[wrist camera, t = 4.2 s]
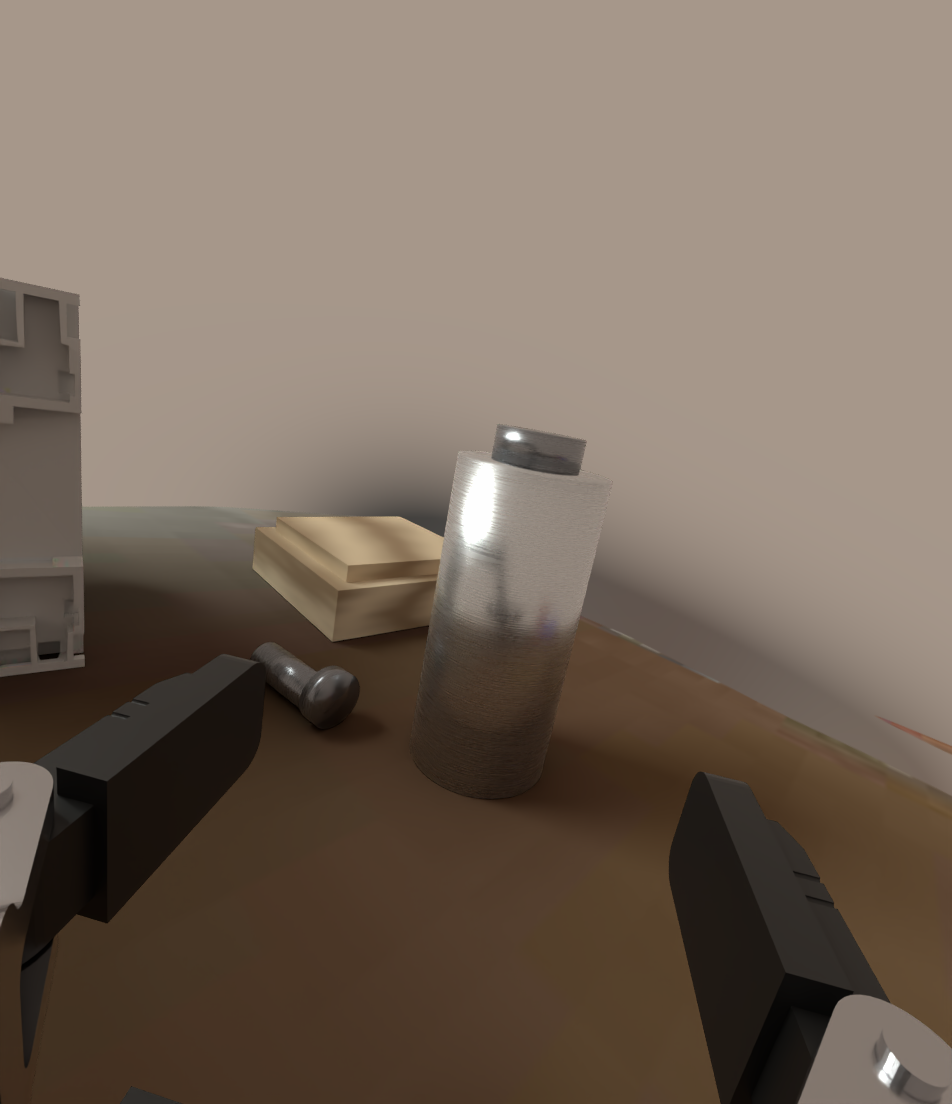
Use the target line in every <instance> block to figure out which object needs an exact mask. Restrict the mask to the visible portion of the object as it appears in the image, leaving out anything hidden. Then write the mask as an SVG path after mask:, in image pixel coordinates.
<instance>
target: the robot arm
mask: <svg viewBox="0 0 952 1104" xmlns="http://www.w3.org/2000/svg"><path fill="white" fill-rule="evenodd" d="M265 681H266V670H265V666H264V665H263V664H262V663H260V662H256V661H252V660H248V659H244V658H239V657H235V656H231V655H227V654H222V655H219V656H217V657H216V658H214V659H213V660H212V661H210V662H209V663H207V664H206V665H204V666H203V667H201V668H200V669H198V670H197V671H196V672H194V673H193V674H190V673H185V674H182V675H179V676H176V677H173V678H170V679H167V680H164V681H161V682H159V683H156V684H155V685H153V686H151V687H150V688H148V689H147V690H145V691H144V692H142V693H141V694H139V695H138V696H136V697H135V698H133V700H132V702H127V703H125V704H124V705H122V706H121V707H119V708H118V709H116V710H115V711H113V713H112V715H111V716H110V715H107V716H105V717H104V718H102V719H101V720H99V721H98V722H96V723H95V724H93V725H91V726H90V727H88V728H87V729H85V730H84V731H82V732H81V733H79V734H78V735H76V736H75V737H73V738H72V739H70V740H68V741H67V742H65V743H64V744H62V745H61V746H59V747H58V748H56V749H55V750H53V751H52V752H50V753H48V754H47V755H45V756H44V757H42V758H41V759H39V760H38V761H36V762H35V763H33V764H32V763H28V762H0V1104H31V1096H32V1089H33V1083H34V1077H35V1072H36V1066H37V1061H38V1055H39V1050H40V1044H41V1039H42V1033H43V1028H44V1022H45V1017H46V1012H47V1006H48V1001H49V995H50V990H51V984H52V979H53V973H54V968H55V962H56V957H57V951H58V932H59V931H60V930H61V929H62V928H63V927H64V926H65V925H66V924H67V923H68V922H69V921H70V920H71V919H72V918H73V917H74V916H75V915H76V914H78V915H81V916H84V917H88V918H91V919H94V920H97V921H101V922H104V923H108V922H109V921H110V920H111V919H112V918H113V917H114V916H115V915H116V913H117V912H118V911H119V910H120V909H121V908H122V907H123V906H124V905H125V903H126V902H127V901H128V900H129V899H130V898H131V897H132V896H133V895H134V893H135V892H136V891H137V890H138V889H139V888H140V887H141V886H142V885H143V884H144V882H145V881H146V880H147V879H148V878H149V877H150V876H151V875H152V874H153V872H154V871H155V870H156V869H157V868H158V867H159V866H160V865H161V864H162V862H163V861H164V860H165V859H166V858H167V857H168V856H169V855H170V854H171V852H172V851H173V850H174V849H175V848H176V847H177V846H178V845H179V844H180V843H181V841H182V840H183V839H184V838H185V837H186V836H187V835H188V834H189V833H190V831H191V830H192V829H193V828H194V827H195V826H196V825H197V824H198V823H199V821H200V820H201V819H202V818H203V817H204V816H205V815H206V814H207V813H208V811H209V810H210V809H211V808H212V807H213V806H214V805H215V804H216V803H217V802H218V800H219V799H220V798H221V797H222V796H223V795H224V794H225V793H226V792H227V790H228V789H229V788H230V787H231V786H232V785H233V784H234V783H235V782H236V780H237V779H238V778H239V777H240V776H241V775H242V774H243V773H244V772H245V770H246V769H247V768H248V767H249V765H250V763H251V762H252V760H253V758H254V756H255V754H256V751H257V749H258V746H259V742H260V738H261V729H262V717H263V705H264V693H265ZM669 880H670V886H671V890H672V895H673V899H674V903H675V908H676V912H677V916H678V921H679V925H680V929H681V934H682V938H683V942H684V947H685V951H686V955H687V960H688V964H689V968H690V972H691V977H692V981H693V985H694V990H695V994H696V998H697V1003H698V1007H699V1011H700V1016H701V1020H702V1024H703V1029H704V1033H705V1037H706V1041H707V1046H708V1050H709V1054H710V1059H711V1063H712V1067H713V1072H714V1076H715V1080H716V1085H717V1089H718V1093H719V1098H720V1102H721V1104H952V1049H951V1048H950V1047H949V1046H948V1045H947V1044H946V1043H945V1042H944V1041H943V1040H942V1039H941V1038H940V1037H939V1036H938V1035H936V1034H935V1033H934V1032H933V1031H932V1030H931V1029H929V1028H928V1027H927V1026H925V1025H924V1024H923V1023H922V1022H920V1021H919V1020H917V1019H916V1018H914V1017H913V1016H911V1015H910V1014H908V1013H907V1012H905V1011H903V1010H902V1009H900V1008H898V1007H896V1006H894V1005H892V1004H891V1003H890V1001H889V1000H888V998H887V996H886V994H885V992H884V991H883V989H882V987H881V985H880V984H879V982H878V980H877V978H876V976H875V975H874V973H873V971H872V969H871V968H870V966H869V964H868V962H867V960H866V959H865V957H864V955H863V953H862V952H861V950H860V948H859V946H858V944H857V943H856V941H855V939H854V937H853V936H852V934H851V932H850V930H849V928H848V927H847V925H846V923H845V921H844V919H843V918H842V916H841V914H840V912H839V911H838V909H835V908H834V902H833V900H832V898H831V896H830V895H829V893H828V891H827V889H826V887H825V886H824V884H822V883H820V877H819V875H818V873H817V871H816V870H815V868H814V866H813V864H812V863H811V861H810V859H809V857H808V855H807V854H806V852H805V850H804V849H803V848H802V847H801V846H800V845H799V844H798V843H797V841H796V840H795V839H794V838H793V837H792V836H791V835H790V834H789V833H788V832H787V831H786V830H785V829H784V828H783V827H782V826H781V825H780V824H779V823H778V822H776V821H772V820H768V819H766V818H765V816H764V814H763V812H762V810H761V808H760V806H759V804H758V802H757V800H756V798H755V796H754V794H753V792H752V790H751V788H750V787H749V785H748V784H747V783H745V782H742V781H738V780H734V779H730V778H725V777H721V776H717V775H713V774H709V773H705V772H698V773H697V774H696V776H695V777H694V779H693V781H692V784H691V787H690V790H689V793H688V796H687V799H686V802H685V805H684V808H683V811H682V814H681V817H680V820H679V823H678V826H677V829H676V832H675V836H674V839H673V842H672V845H671V850H670V857H669ZM120 1104H182V1103H179V1102H176V1101H173V1100H170V1099H167V1098H164V1097H161V1096H158V1095H155V1094H152V1093H149V1092H146V1091H144V1090H141V1089H138V1088H135V1087H132V1086H131V1087H130V1089H129V1091H128V1092H127V1094H126V1095H125V1097H124V1098H123V1100H122V1101H121V1103H120Z"/></svg>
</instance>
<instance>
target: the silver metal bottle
mask: <svg viewBox="0 0 952 1104" xmlns="http://www.w3.org/2000/svg"><path fill="white" fill-rule="evenodd" d="M586 442H587V441H586V440H582V439H578V438H573V437H569V436H564V435H559V434H554V433H549V432H544V431H538V430H533V429H527V428H521V427H516V426H509V425H502V424H498V425H497V429H496V435H495V441H494V446H493V452H492V453H490V452H480V451H459V452H458V458H457V463H456V469H455V475H454V481H453V487H452V493H451V499H450V505H449V511H448V517H447V523H446V529H445V535H444V541H443V547H442V553H441V559H440V565H439V571H438V577H437V583H436V589H435V595H434V601H433V606H432V612H431V618H430V624H429V630H428V636H427V642H426V648H425V654H424V660H423V666H422V672H421V678H420V684H419V690H418V696H417V702H416V708H415V714H414V720H413V726H412V732H411V738H410V752H411V756H412V758H413V760H414V762H415V764H416V765H417V767H418V768H419V769H420V770H421V771H422V772H423V773H424V774H425V775H426V776H427V777H428V778H429V779H431V780H432V781H434V782H435V783H437V784H438V785H440V786H442V787H444V788H446V789H448V790H450V791H453V792H455V793H458V794H461V795H465V796H469V797H475V798H481V799H502V798H509V797H512V796H516V795H519V794H521V793H524V792H525V791H527V790H529V789H530V788H532V787H533V786H534V785H535V784H536V783H537V781H538V780H539V778H540V776H541V773H542V769H543V765H544V761H545V757H546V753H547V749H548V745H549V741H550V736H551V732H552V728H553V724H554V720H555V716H556V712H557V708H558V704H559V700H560V696H561V692H562V687H563V683H564V679H565V675H566V671H567V667H568V663H569V659H570V655H571V651H572V647H573V643H574V638H575V634H576V630H577V626H578V622H579V618H580V614H581V610H582V605H583V602H584V598H585V594H586V589H587V585H588V581H589V577H590V573H591V569H592V565H593V561H594V556H595V553H596V549H597V544H598V540H599V536H600V532H601V528H602V524H603V520H604V516H605V512H606V508H607V504H608V500H609V496H610V492H611V487H612V483H613V481H612V480H610V479H608V478H606V477H603V476H600V475H597V474H594V473H591V472H587V471H584V470H580V469H581V464H582V460H583V455H584V451H585V446H586Z"/></svg>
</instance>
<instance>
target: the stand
mask: <svg viewBox="0 0 952 1104" xmlns="http://www.w3.org/2000/svg"><path fill="white" fill-rule="evenodd" d="M443 541H444V538H443V537H441V536H439V535H437V534H435V533H433V532H431V531H428V530H426V529H424V528H422V527H420V526H418V525H416V524H414V523H412V522H410V521H408V520H406V519H404V518H402V517H277V522H276V527H256V529H255V543H254V556H253V570H255V571H256V572H257V573H258V574H259V575H260V576H261V577H262V578H263V579H264V580H265V581H266V582H268V583H269V584H270V585H271V586H272V587H273V588H274V589H275V590H276V591H277V592H278V593H280V594H281V595H282V596H283V597H284V598H285V599H286V600H287V601H288V602H289V603H290V604H292V605H293V606H294V607H295V608H296V609H297V610H298V611H299V612H300V613H301V614H302V615H304V616H305V617H306V618H307V619H308V620H309V621H310V622H311V623H312V624H313V625H314V626H316V627H317V628H318V629H319V630H320V631H321V632H322V633H323V634H324V635H325V636H326V637H327V638H329V639H330V640H331V641H332V642H335V641H340V640H346V639H352V638H358V637H364V636H370V635H375V634H381V633H387V632H393V631H399V630H405V629H410V628H416V627H422V626H428V625H429V624H430V618H431V612H432V606H433V601H434V595H435V589H436V583H437V577H438V571H439V565H440V559H441V553H442V547H443Z"/></svg>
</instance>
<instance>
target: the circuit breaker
mask: <svg viewBox="0 0 952 1104" xmlns="http://www.w3.org/2000/svg"><path fill="white" fill-rule="evenodd" d="M78 306H80V305H79V295H78V294H73V293H69V292H64V291H59V290H55V289H50V288H46V287H41V286H36V285H31V284H27V283H22V282H18V281H13V280H8V279H4V278H0V677H3V676H11V675H19V674H27V673H36V672H44V671H52V670H60V669H69V668H77V667H85V657H84V655H76V656H74V654H75V653H83V634H84V572H83V556H82V499H81V498H82V497H81V495H82V494H81V493H82V492H81V432H80V431H81V425H80V413H81V359H80V358H81V357H80V339H79V317H78V316H79V315H78V314H79V313H78ZM51 653H60V655H59V657H58V658H55V659H46V660H40V658H39V656H38V655H42V654H51Z"/></svg>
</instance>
